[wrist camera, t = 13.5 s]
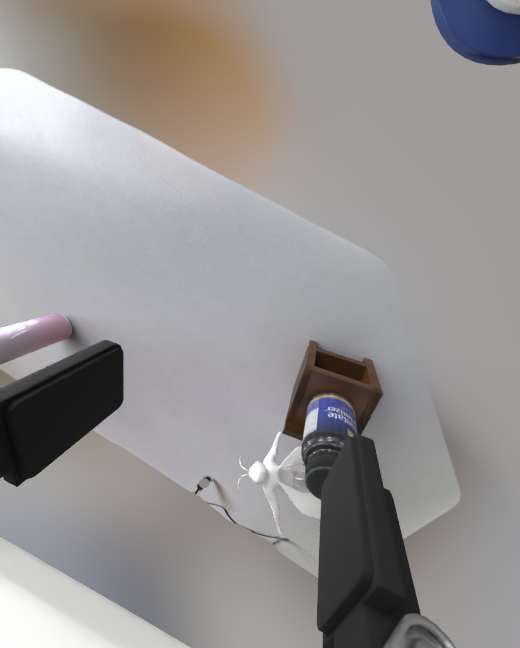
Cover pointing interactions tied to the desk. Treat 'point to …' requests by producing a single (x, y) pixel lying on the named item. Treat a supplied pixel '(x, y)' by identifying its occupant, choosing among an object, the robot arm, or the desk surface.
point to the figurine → (284, 483)
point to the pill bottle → (325, 436)
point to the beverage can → (32, 335)
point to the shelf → (332, 387)
